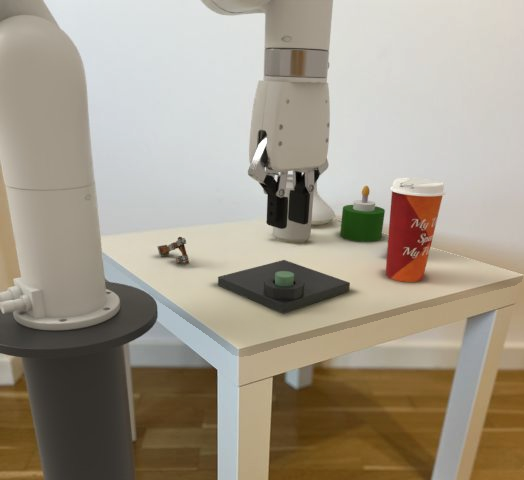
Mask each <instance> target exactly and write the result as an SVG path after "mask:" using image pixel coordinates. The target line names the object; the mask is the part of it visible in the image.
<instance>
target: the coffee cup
mask: <svg viewBox="0 0 524 480" xmlns="http://www.w3.org/2000/svg"><path fill="white" fill-rule="evenodd" d="M444 187H445V184H444V182H442V181H440V180H437V179H431V178H423V177H398V178H395V179H394V180H393V183H392V186H390V188H389V190H390V191H391V198H390V211H389V212H390V213H389V224H388V234H387V239H388V240H387V248H386V250H387V251H386V260H385V261H386V263H385V276H386V277H387V278H388V279H391V280H394V281H397V282H403V283H404V282H405V283H415V282H420V281H421V280H423V278H424V275H425V271H426V267H427V265H428V264H427V263H428V259H429V255H430V251H431V247H432V244H433V243H432V242H433V238H434V234H435V230H436V225H437V222H438V218H439V217H438V216H439V212H440V210H441V209H440V208H441V204H442V200H443V196H445V195H446V191H445V188H444Z"/></svg>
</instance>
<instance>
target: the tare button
mask: <svg viewBox="0 0 524 480" xmlns="http://www.w3.org/2000/svg"><path fill="white" fill-rule="evenodd" d="M275 284H276V285H279V286H292V285H293V284H294V274H293V273H292V272H288V271H279V272H276V273H275Z"/></svg>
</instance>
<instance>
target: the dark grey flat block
mask: <svg viewBox="0 0 524 480" xmlns="http://www.w3.org/2000/svg"><path fill="white" fill-rule="evenodd" d="M279 271H288V272H292V273H293V274H294V284H293V285H292V286H279V285H276V284H275V273H276V272H279ZM350 284H351V282H350V281H346V280H343V279H340V278H337V277H336V276H335V277H334V276H332V275H329V274H327V273H323V272H321V271H318V270H315V269H312V268H310V267H305V266H303V265H301V264H297V263H294V262H292V261H288V260H286V259H282V260H278V261H275V262H270V263H266V264H263V265H259V266H255V267H250V268H247V269H242V270H239V271H236V272H231V273H227V274H223V275H220V276H218V277H217V286H219V287H221V288H223V289H225V290H228V291H230V292H233V293H235V294H237V295H239V296H241V297H244V298H247V299H249V300H251V301H252V302H256V303H258V304H259V305H262V306H265V307H266V308H268V309H271V310H274V311H276V312H278V313H281V314H286V313H290V312H293V311H295V310H298V309H300V308H304V307H306V306H310V305H312V304H315V303H319V302H322V301H324V300H327V299H331V298H333V297H337V296H340V295H342V294H345V293H348V292H349V291H350Z"/></svg>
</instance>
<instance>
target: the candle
mask: <svg viewBox="0 0 524 480" xmlns="http://www.w3.org/2000/svg"><path fill="white" fill-rule="evenodd" d="M370 193H371V191H370V187H369V186H368V185H365V186H363V188H362V191H361V195H362V198H361V199H360V200H359V199H357V200H353V203H352V204H346V205H344V206H342V213H341V221H340V223H341V224H340V233H339V236H340V237H341V238H343V239H345V240H349V241H353V242H359V243H360V242H361V243H362V242H363V243H368V242H369V243H372V242H378V241H380V240H381V239H382V236H383V228H384V221H385V213H386V210H385V209H384V208H382V207H381V206H377V205H376V202H375V201H372V200H369V196H370Z"/></svg>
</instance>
